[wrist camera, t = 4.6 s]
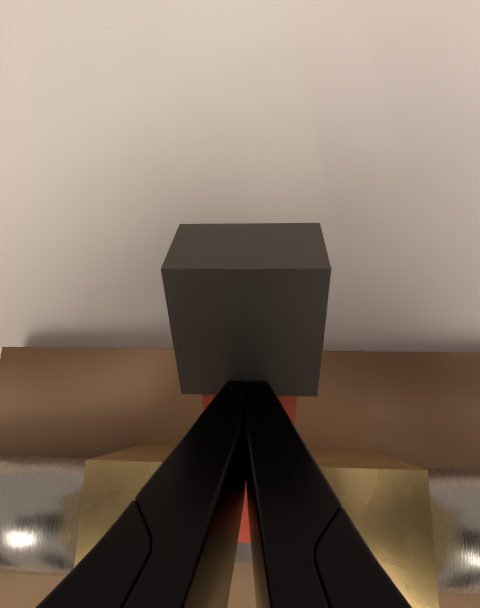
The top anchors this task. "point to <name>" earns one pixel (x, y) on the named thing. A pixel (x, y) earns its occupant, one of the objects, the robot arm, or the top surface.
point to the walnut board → (188, 407)
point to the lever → (248, 312)
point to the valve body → (333, 463)
